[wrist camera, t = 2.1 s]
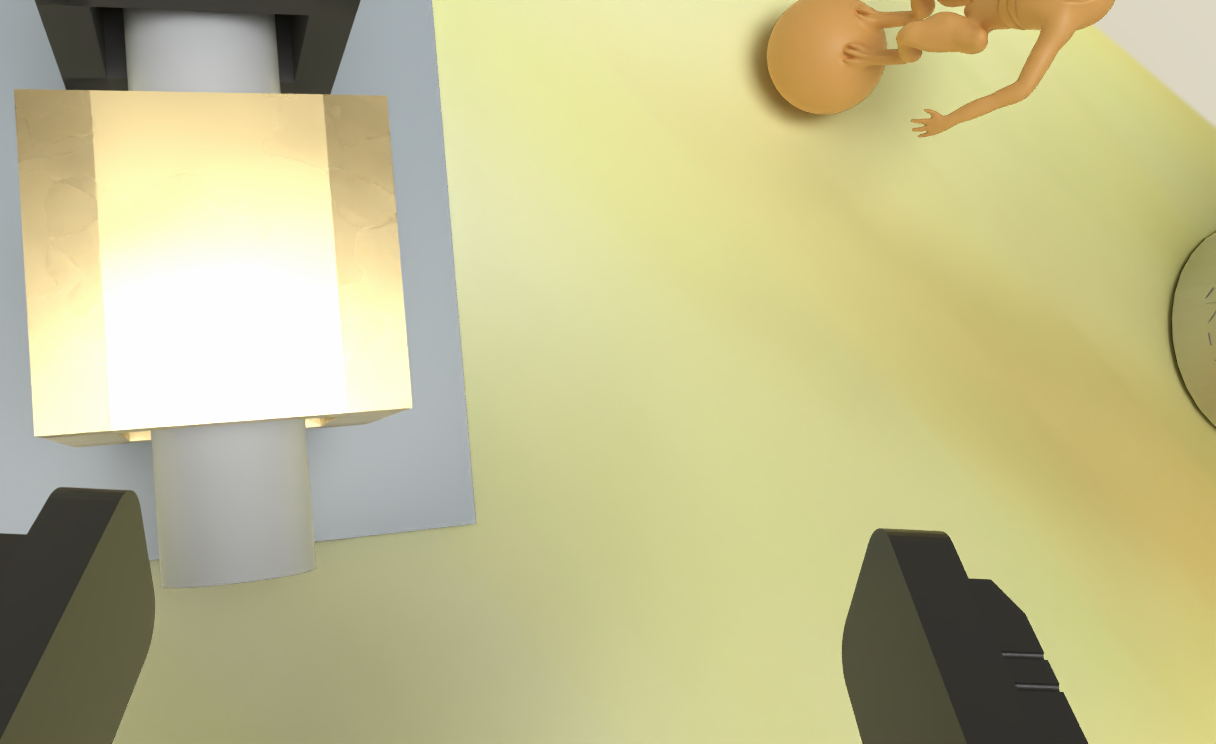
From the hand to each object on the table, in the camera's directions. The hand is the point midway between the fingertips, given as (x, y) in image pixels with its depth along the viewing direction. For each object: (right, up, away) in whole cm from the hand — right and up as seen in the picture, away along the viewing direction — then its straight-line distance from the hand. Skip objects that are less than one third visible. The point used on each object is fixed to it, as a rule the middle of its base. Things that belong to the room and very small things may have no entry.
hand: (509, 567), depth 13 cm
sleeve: (-8, +4, +14) cm, 16 cm away
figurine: (+9, +12, +28) cm, 32 cm away
